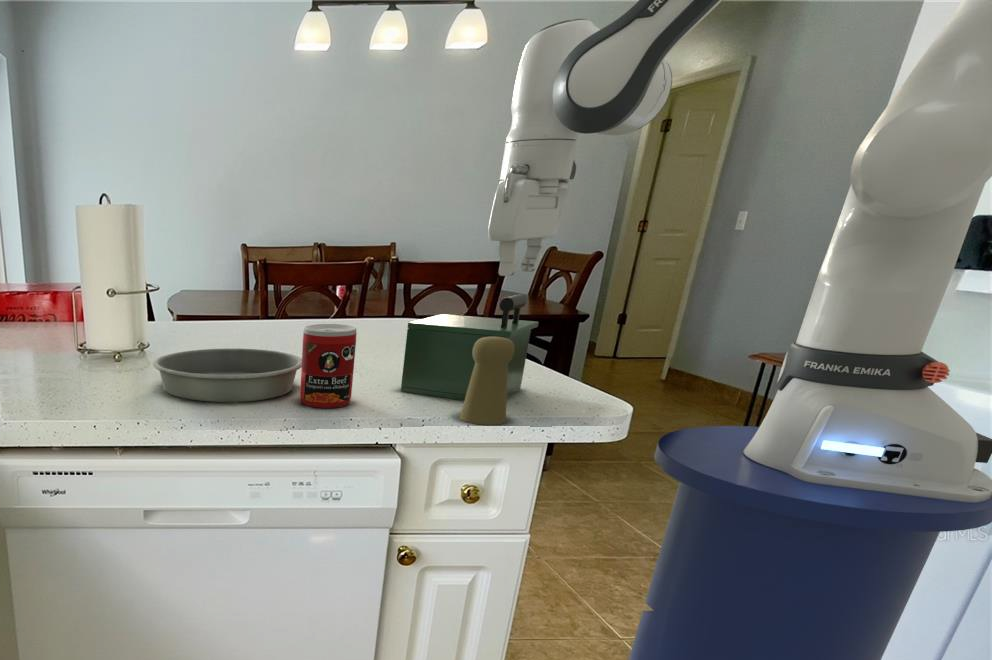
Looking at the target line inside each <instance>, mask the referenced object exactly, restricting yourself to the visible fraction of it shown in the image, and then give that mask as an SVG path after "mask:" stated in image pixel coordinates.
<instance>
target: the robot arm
mask: <svg viewBox="0 0 992 660" xmlns="http://www.w3.org/2000/svg"><path fill="white" fill-rule="evenodd" d="M721 2H723V0H638V1H637V2H636V3H635V4H633V6H632V7H630V9H628V10H627V11H625V13H623V14H622V15H621V16H619V17H618V18H616V19H615V20H614V21H612V22H611V23H609V24H608V25H605V26H604V27H602V28H599V27H598V26H597V25H595V24H594V22H592V21H591V20H590V19H587V18H575V19H567V20H563V21H559V22H556V23H553V24H550V25H548V26H546V27H543V28H541V29H540V30H539V31H538V32H536V33H535V34H534V35H532V36H531V37H530V39H529V40H528V41H527V43H526V45H525V47H524V48H523V49H524V50H523V52H522V56H521V59H520V62H519V65H518V70H517V74H516V77H515V78H516V79H515V83H514V87H513V94H512V99H511V106H510V110H511V125H510V128H509V131H508V134H507V136H506V138H505V144H504V148H503V149H504V150H503V157H502V163H501V168H500V176H499V181H500V182H499V183H498V184H497V188H496V190H495V194H494V198H493V202H492V207H491V212H490V217H489V221H488V227H487V237H488V240H489V241H491V242H499V245H498V258H499V267H498V275H499V276H501V277H511V276H513V275H514V274H515V273H516V267H517V261H516V254H517V250H518V247H519V242H520V241H526V244H525V246H526V249H525V253H524V257H523V258H521V266H520V271H521V272H527V273H528V272H529V273H531V272H534V271H536V270H537V266H538V261H539V258H540V256H541V253H542V251H543V248H544V245H545V239H546V238H547V239H548V238H554V237H556V235H557V233H558V232H559V229H560V227H561V223H562V220H563V216H564V212H565V209H566V204H567V200H568V196H569V192H570V183H573V182H574V181H575V180H576V177H577V171H578V164H577V163H576V160H575V152H576V146H577V140H578V137H579V135H580V134H587V135H588V134H599V135H607V136H622V135H626V134H630V133H633V132H635V131H638V130H640V129H642V128H643V127H646V126H647V125H648V124H649V123H651V122H652V121H653V120H654V119H655V118H656V117H657V116H658V115H659V114H660V113H661V111H662V110H663V108H664V107H665V105H666V104H667V101H668V99H669V97H670V95H671V91H672V86H673V73H672V70H671V66H670V64H669V63H668V61H667V60H666V57H667V56H668V55H669V53H670V52H671V51H672V50H673V49H674V48H675V47H676V46H677V45H678V44H679V43H680V42H681V41H682V40H684V38H686V36H687V35H688V34H689V33H691V32H692V31H693V30H694V29H695V28H696V27H697V26H698V25H699V24H700V23H701V22H702V21H703V20H704V19H705V18H706V17H707V16H708V15H709V14H710V13H711V12H712V11H713V10H715V8H717V6H719V4H721ZM991 178H992V0H961V1H960V3H959V4H958V6H957V7H956V9H955V10H954V12H953V13H952V14H951V16H950V17H949V19H948V20H947V22H946V23H945V25H944V26H943V27H942V29H941V31H939V33H938V34H937V36H936V37H935V39H934V40H933V41H932V42H931V44H930V45H929V47H928V48H927V49H926V51H924V53H923V55H922V56H921V58H920V59H919V61H918V62H917V64H915V66H914V67H913V68H912V71H911V72H910V73H909V74H908V76H907V77H906V79H905V81H904V82H903V83H902V84H901V86H900V87H899V89H898V90H897V92H896V93H895V94H894V96H893V97H892V98H891V100H890V102H889V103H888V105H887V106H886V107H885V109H884V110H883V112H882V113H881V115H880V116H879V117H878V119H877V120H876V122H875V123H874V124H873V126H872V128H870V130H869V132H868V133H867V134H866V136H865V138H864V139H863V140H862V142H861V144H860V145H859V147H858V148H857V150H856V152H855V155H854V157H853V160H852V163H851V167H850V186H849V189H848V192H847V195H846V197H845V200H844V203H843V206H842V210H841V213H840V215H839V218H838V220H837V223H836V225H835V228H834V231H833V234H832V237H831V240H830V242H829V245H828V248H827V250H826V253H825V256H824V259H823V261H822V263H821V266H820V269H819V271H818V275H817V278H816V281H815V283H814V287H813V289H812V293H811V295H810V298H809V302H808V305H807V308H806V310H805V314H804V316H803V320H802V323H801V326H800V329H799V332H798V336H797V338H796V341H793V342H791V344H790V347H789V349H788V351H787V352H786V353H785V356H784V359H783V362H782V365H781V368H780V371H779V375H778V378H777V385H776V387H777V388H776V389H777V391H776V393H775V396H774V398H773V400H772V402H771V404H770V407H769V409H768V411H767V412H766V415H765V417H764V418H763V420H762V422H761V424H760V425H759V426H758V427H759V429H758V431H757V432H756V434H755V435H754V437H753V438H752V440H751V441H750V443H749V444H748V445H747V447H746V448H745V449H744V451H743V452H744V454H745V455H746V456H747V457H748V458H750V459H751V460H753V461H755V462H757V463H760V464H762V465H765V466H768V467H771V468H774V469H777V470H780V471H783V472H785V473H787V474H789V475H791V476H793V477H795V478H797V479H799V480H802V481H805V482H810V483H817V484H825V485H833V486H841V487H849V488H856V489H864V490H872V491H880V492H888V493H896V494H904V495H912V496H920V497H928V498H935V499H943V500H951V501H959V502H968V503H978V502H983V501H986V500H988V499H990V498H991V496H992V480H991V479H992V478H991V477H990V476H989V475H988V474H987V473H985V472H983V471H982V470H980V469H978V468H975V465H976V463H980V464H981V463H982V464H987V463H988V462H989V460H990V458H991V457H992V438H990V437H989V436H986V435H983V434H981V433H979V432H976V431H975V428H974V427H973V426H972V425H971V424H970V423H969V422H968V421H967V420H966V419H965V418H964V417H963V416H961V414H959V413H958V412H957V411H956V410H955V409H954V408H953V407H952V406H951V405H950V404H948V403H947V402H946V401H945V400H944V399H943V398H942V397H940V396H939V394H937V393H936V392H935V391H933V390H932V389H931V388H930V387H932V386H934V385H935V384H937V383H941V382H943V380H947V379H948V377H949V376H950V372H951V370H950V369H949V367H948V365H947V364H946V363H944V362H941V361H939V360H936V359H935V358H933V357H932V356H930V355H928V354H927V353H926V352H923V351H922V350H923V348H924V345H925V343H926V340H927V338H928V336H929V334H930V330H931V328H932V326H933V323H934V321H935V319H936V316H937V314H938V311H939V308H940V305H942V304H941V303H942V301H943V298H944V296H945V293H946V291H947V288H948V286H949V284H950V281H951V279H952V275H953V273H954V270H955V267H956V264H957V261H958V258H959V255H960V253H961V250H962V247H963V244H964V241H965V238H966V236H967V233H968V230H969V228H970V225H971V223H972V220H973V217H974V214H975V211H976V209H977V206H978V204H979V201H980V198H981V196H982V194H983V190H984V188H985V185H986V184H987V182H988V181H989V180H990V179H991Z"/></svg>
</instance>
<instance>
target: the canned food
mask: <svg viewBox="0 0 992 660" xmlns="http://www.w3.org/2000/svg"><path fill="white" fill-rule="evenodd" d="M356 346H357V327H356V326H353V325H348V324H339V323H337V324H336V323H319V324H318V323H317V324H310V325H306V326H304V328H303V335H302V351H301V359H302V367H301V370H300V371H301V372H300V376H301V377H300V395H299V396H300V401H301V403H302V404H303V405H305V406H307V407H311V408H318V409H319V408H320V409H337V408H343V407H345V406H347V405H349V404H350V401H351V398H352V394H353V393H352V392H353V383H354V371H355V369H354V368H355V359H356Z"/></svg>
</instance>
